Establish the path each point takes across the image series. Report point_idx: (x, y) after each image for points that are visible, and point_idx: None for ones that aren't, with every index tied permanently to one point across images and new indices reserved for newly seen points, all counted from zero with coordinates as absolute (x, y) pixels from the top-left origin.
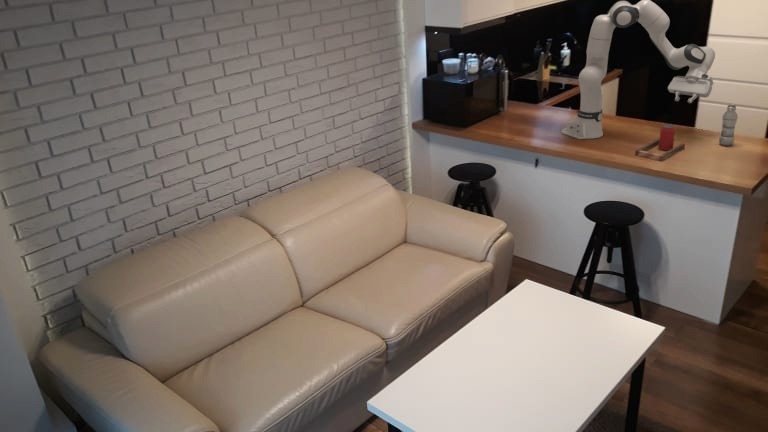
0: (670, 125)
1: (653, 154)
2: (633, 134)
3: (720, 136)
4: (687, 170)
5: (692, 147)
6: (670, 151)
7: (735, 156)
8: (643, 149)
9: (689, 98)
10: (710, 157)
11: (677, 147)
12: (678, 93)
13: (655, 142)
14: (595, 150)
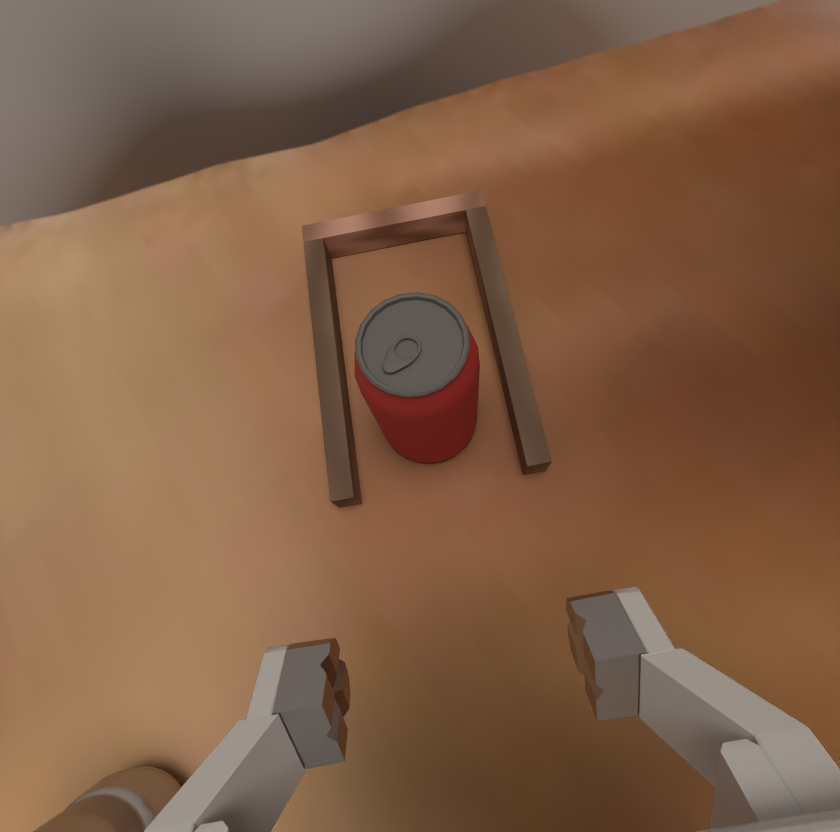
0: (419, 386)
1: (361, 214)
2: (827, 503)
3: (140, 804)
4: (145, 244)
5: (312, 571)
6: (316, 315)
7: (8, 620)
8: (474, 251)
9: (306, 702)
10: (130, 487)
11: (326, 404)
12: (720, 768)
13: (508, 391)
14: (692, 118)
